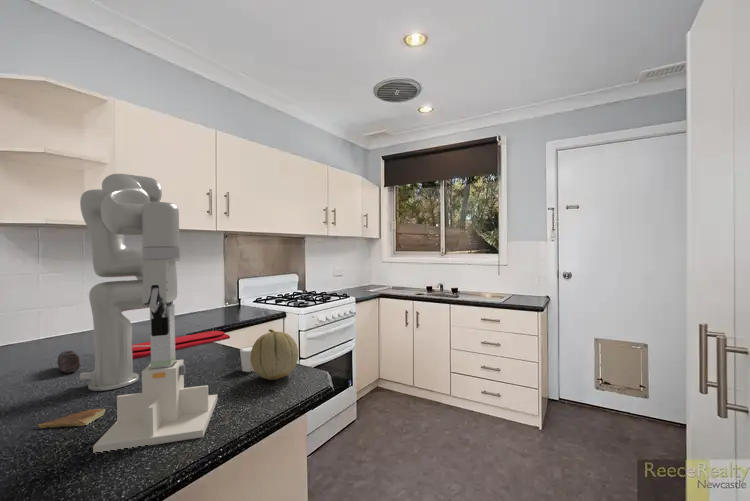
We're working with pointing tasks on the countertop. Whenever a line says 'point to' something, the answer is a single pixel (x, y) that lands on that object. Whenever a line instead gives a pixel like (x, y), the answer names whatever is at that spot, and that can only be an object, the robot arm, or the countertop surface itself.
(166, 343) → the steel post
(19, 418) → the countertop surface
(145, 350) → the dish drying mat
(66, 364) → the perforated stone tool
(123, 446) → the cream stand
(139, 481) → the countertop surface
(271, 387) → the countertop surface
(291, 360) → the cantaloupe
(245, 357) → the shot glass
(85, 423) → the shard
